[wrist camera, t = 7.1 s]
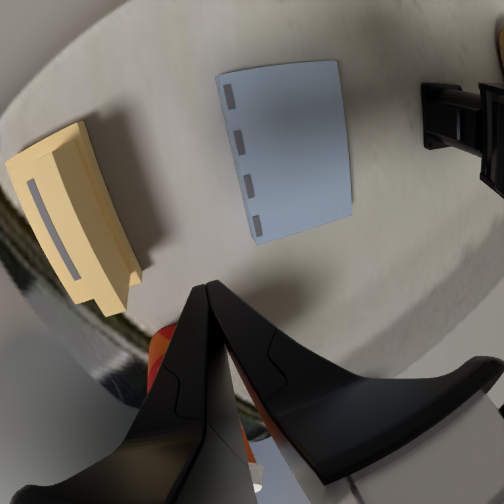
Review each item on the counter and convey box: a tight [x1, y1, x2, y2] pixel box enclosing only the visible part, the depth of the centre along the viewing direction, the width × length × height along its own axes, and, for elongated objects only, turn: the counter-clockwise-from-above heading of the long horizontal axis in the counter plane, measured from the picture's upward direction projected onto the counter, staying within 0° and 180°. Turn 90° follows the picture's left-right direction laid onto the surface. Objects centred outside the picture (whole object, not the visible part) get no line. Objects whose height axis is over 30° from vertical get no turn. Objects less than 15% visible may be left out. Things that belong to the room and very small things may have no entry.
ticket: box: [215, 61, 352, 245], centre depth 19 cm, size 8×12×2 cm, turn 12°
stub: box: [5, 120, 142, 317], centre depth 15 cm, size 6×12×6 cm, turn 12°
